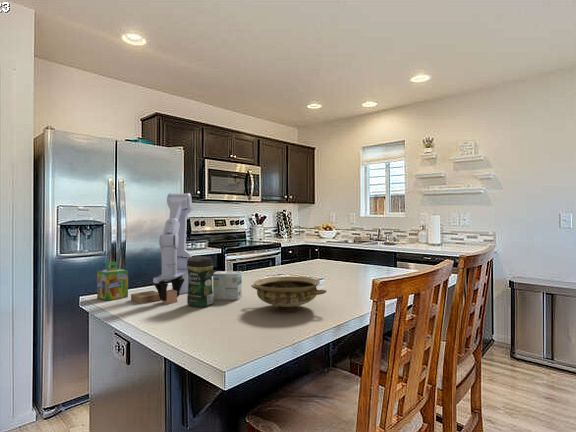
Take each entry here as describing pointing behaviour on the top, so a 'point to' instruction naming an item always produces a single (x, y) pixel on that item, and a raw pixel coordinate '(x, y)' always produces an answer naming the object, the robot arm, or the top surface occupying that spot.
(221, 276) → the light bulb box
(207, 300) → the coffee jar
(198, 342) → the top surface
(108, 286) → the chalk box
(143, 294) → the walnut slab
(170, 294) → the terracotta block
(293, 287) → the ceramic bowl
